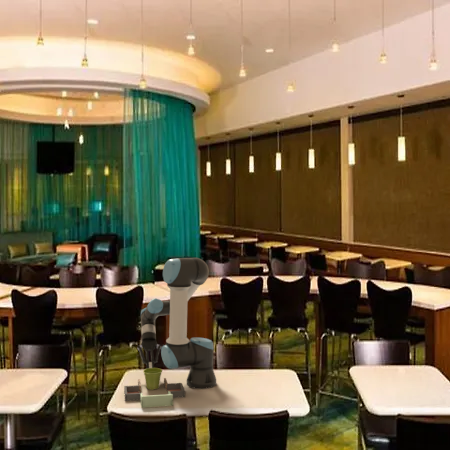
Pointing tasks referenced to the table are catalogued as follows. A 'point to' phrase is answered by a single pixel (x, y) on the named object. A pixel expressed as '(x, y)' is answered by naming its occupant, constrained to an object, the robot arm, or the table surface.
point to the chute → (164, 384)
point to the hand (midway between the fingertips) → (150, 374)
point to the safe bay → (156, 400)
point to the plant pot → (152, 377)
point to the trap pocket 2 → (176, 390)
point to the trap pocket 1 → (131, 393)
